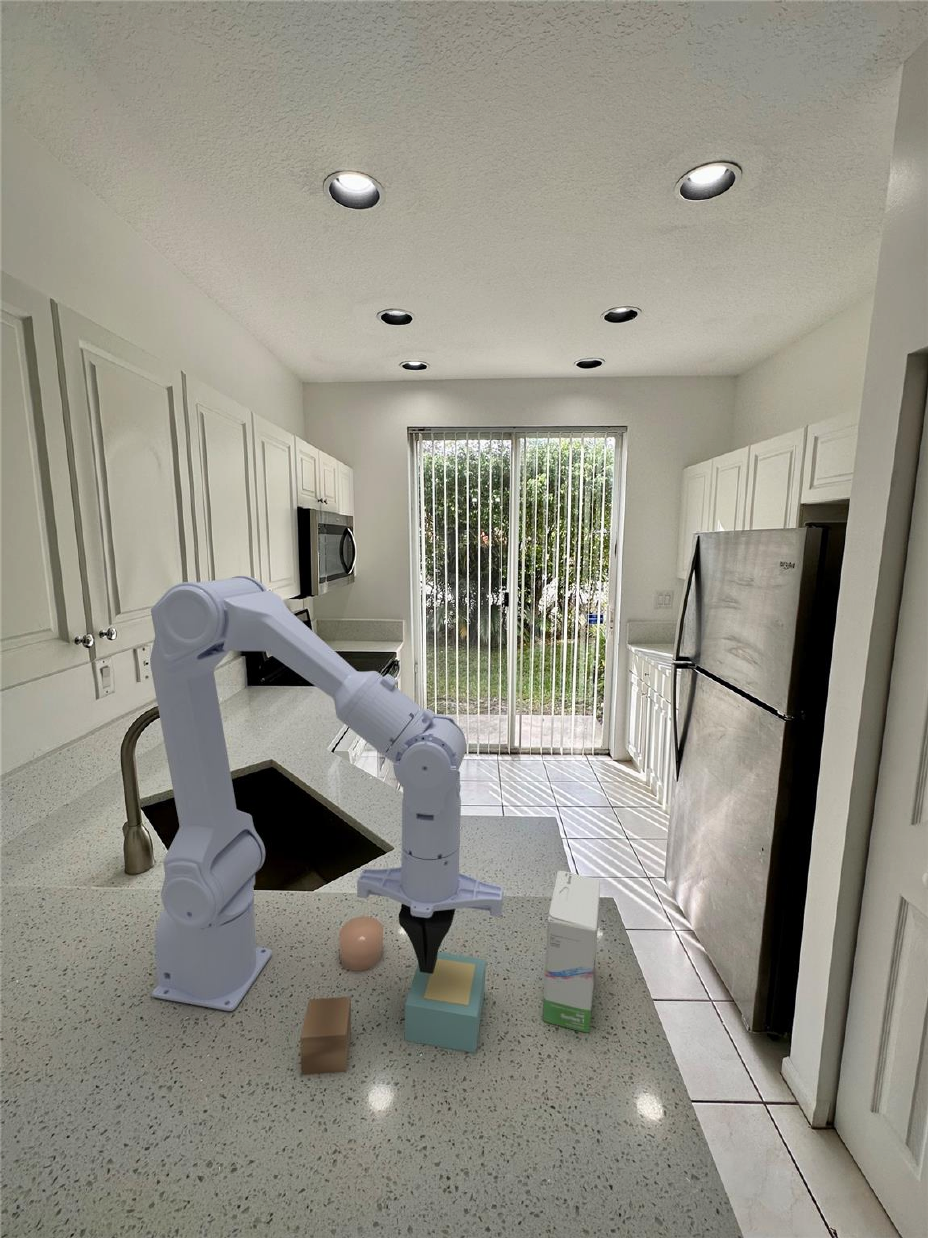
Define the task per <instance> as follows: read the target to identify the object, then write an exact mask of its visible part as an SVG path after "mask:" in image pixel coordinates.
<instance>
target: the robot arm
mask: <svg viewBox="0 0 928 1238" xmlns="http://www.w3.org/2000/svg"><path fill="white" fill-rule="evenodd" d="M150 614H151V620H152V625H153V631H154V639H153V644H152V649H151V653H150V659H149V661H150V670H151V676H152V677H151V678H152V681H153V688H154V692H155V696H156V697H155V698H156V703H157V709H158V714H159V719H160V725H161V730H162V731H161V732H162V734H163V735H162V736H163V742H164V747H165V752H166V758H167V763H168V769H169V773H170V774H169V775H170V780H171V785H172V791H173V797H174V802H175V803H174V804H175V807H176V812H177V813H176V814H177V817H178V823H179V826H178V827H179V828H178V830H177V832H176V834H175V837H174V838H173V841H172V842H171V844H170V847H169V848H168V850H167V852H166V854H165V856H164V859H163V861H162V863H163V869H164V880H163V883H162V886H161V891H160V892H161V893H160V894H161V895H160V896H161V902H162V905H163V911H162V912H161V914H160V916H159V918H158V922H157V924H156V928H155V932H154V933H155V934H154V950H155V963H156V964H155V966H156V977H157V986H156V987H155V988H154V989H153V990H152V992H151V993H152V997H153V998H158V999H161V1000H168V1001H172V1002H173V1001H174V1002H177V1003H178V1002H179V1003H183V1004H190V1005H195V1006H200V1007H201V1006H202V1007H205V1008H206V1007H207V1008H211V1009H216V1010H223V1011H227V1012H229V1011H230V1012H232V1011H235V1009H237V1007H238V1006H239V1004H240V1003H241V1001H242V1000H243V999H244V997H245V995H246V994H247V992H248V991H249V990H250V988H251V987H252V985H253V983H254V982H255V981H256V979H257V978H258V976H259V974H260V973H261V971H262V970H263V969H264V967H265V965H266V964H267V963H268V961H270V958H271V957H272V955H273V950H272V949H271V948H267V947H260V946H257V945H256V942H257V941H256V918H255V917H256V916H255V915H256V914H255V890H254V886H255V885H256V873H257V872H258V871H259V870H260V869H261V868H262V867H263V865H264V862H265V860H266V848H265V845H264V842H263V840H262V838H261V837H260V835H259V834H258V833H257V831H256V828H255V826H254V822H253V816H252V815H251V814H250V813H247V812H244V811H241V810H239V809H237V803H236V797H235V792H234V787H233V786H234V785H233V781H232V779H233V778H232V774H231V769H230V767H231V766H230V763H229V762H230V761H229V755H228V750H227V745H226V738H225V731H224V725H223V719H222V713H221V708H220V702H219V694H218V688H217V684H216V676H215V669H216V668H217V666H218V665H219V664H220V663H222V661H223V660H224V659H225V657H226V656H227V655H228V654H229V653H231V652H238V651H239V652H266V653H267V654H269V655H271V656H273V658H275V659H276V660H278V661H279V662H281V663H282V664H284V665H285V666H286V667H288V668H289V669H291V670H292V671H294V672H295V673H296V674H298V675H299V676H301V677H302V678H303V679H305V680H306V681H307V682H309V683H310V684H312V685H313V686H315V687H316V688H318V689H319V690H320V691H322V692H323V693H325V695H327V696H329V697H330V698H331V699H333V701H334V703H333V704H334V708H335V714H336V718H337V719H338V720H339V721H340V722H342V723H343V724H344V725H345V726H347V727H348V728H349V729H350V730H352V732H354V733H355V734H356V735H358V736H359V737H360V738H361V739H363V740H364V741H365V742H366V743H367V744H369V745H370V746H372V747H373V748H374V749H375V750H376V751H378V752H379V753H380V754H381V755H383V756H384V757H385V759H388V760H389V761H391V762H392V763H393V773H394V775H395V779H396V780H397V782H398V783H399V785H400V786H401V787H402V800H401V859H400V860H401V864H400V866H401V867H399V866H398V867H392V868H389V867H388V868H378V869H377V868H363V869H362V871H361V873H360V875H359V877H358V878H357V880H356V885H357V888H356V890H357V891H356V892H357V893H356V896H357V898H361V899H367V898H369V897H370V895H372V896H378V897H379V896H380V897H386V898H389V899H391V900H393V901H395V902H398V903H400V904H401V906H400V910H399V913H398V923H399V925H400V928H402V929H403V931H404V932H405V933H406V935H407V937H408V939H409V940H410V943H411V944H412V947H413V949H414V953H415V957H416V960H417V965H418V964H419V969H420V972H423V973H430V974H433V972H434V969H435V965H436V961H437V955H438V952H439V949H440V946H441V945H442V943H443V941H444V939H445V937H446V935H447V934H448V932H449V931H450V929H451V927H452V924H453V921H454V918H455V917H454V916H455V914H456V910H457V909H473V910H478V911H479V910H481V911H485V912H486V911H487V912H489V915H490V916H492V917H497V918H501V917H502V911H503V905H504V904H503V903H504V886H503V885H502V886H501V885H496V884H492V883H491V884H490V883H488V882H486V881H482V880H479V879H477V878H475V877H472V876H470V875H466V874H464V873H462V872H460V847H461V846H460V844H461V816H462V815H461V813H462V810H461V808H462V799H461V795H460V792H461V771H459V770H460V768H461V765H462V763H463V760H464V758H465V755H466V749H467V741H466V736H465V734H464V732H463V730H462V728H461V727H460V726H459V725H458V724H457V723H456V721H455V720H454V719H453V718H452V717H451V716H449V715H445V714H441V713H439V714H436V713H435V712H434V711H433V710H432V709H430V708H428V707H427V709H426V710H425V709H424V708H423V707H421V705H419V704H418V703H417V702H415V701H414V700H413V699H412V698H411V697H409V696H408V695H407V694H406V693H404V692H403V691H402V690H400V689H399V688H398V687H397V686H396V685H397V684H398V680H397V679H396V678H394V676H392V675H391V674H389V673H387V674H386V675H384V676H383V675H382V674H380V673H379V671H376V670H369V671H357V670H356V668H354V667H353V666H352V665H350V664H349V663H348V661H346V660H345V659H344V658H343V657H342V656H340V655H339V654H338V653H337V652H336V651H335V650H334V649H333V648H332V647H331V646H329V645H328V644H327V643H326V642H325V641H324V640H323V639H321V637H319V636H318V635H317V633H315V632H314V631H313V630H311V629H310V627H308V626H307V625H306V624H305V623H304V622H303V621H301V619H299V618H298V617H297V616H296V615H295V614H294V613H293V612H292V611H290V609H289V608H288V606H287V605H286V604H285V602H284V600H283V599H282V598H281V596H280V595H278V594H277V593H275V592H273V591H272V590H267V588H266V587H265V586H264V584H263V583H261V581H259V580H257V579H255V578H254V577H251V576H247V575H237V576H233V577H230V578H223V579H222V578H221V579H216V580H215V579H214V580H206V581H199V582H191V581H183V582H179V583H177V584H175V585H173V586H172V587H170V588H169V589H168V590H167V591H166V592H165V593H164V594H163V595H162V596H161V598H159V599H158V600H157V602H156V603H155V604H154V605H152V607H151V608H150Z"/></svg>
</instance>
